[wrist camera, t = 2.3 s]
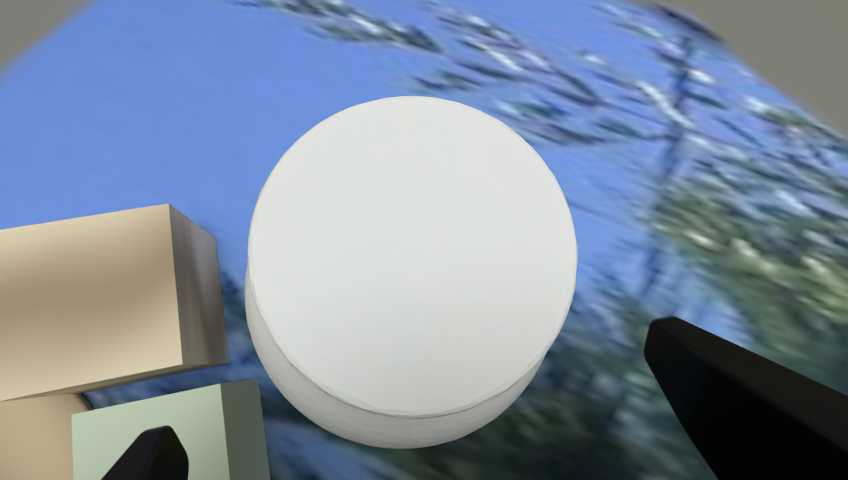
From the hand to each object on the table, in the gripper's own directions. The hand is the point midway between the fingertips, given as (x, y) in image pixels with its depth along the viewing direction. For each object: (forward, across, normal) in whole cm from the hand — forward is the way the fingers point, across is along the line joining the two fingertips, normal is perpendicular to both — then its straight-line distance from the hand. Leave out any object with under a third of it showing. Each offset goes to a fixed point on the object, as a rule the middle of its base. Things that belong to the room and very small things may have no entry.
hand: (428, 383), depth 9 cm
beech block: (+10, +9, +4) cm, 14 cm away
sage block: (+6, +7, +8) cm, 13 cm away
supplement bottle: (+9, 0, +6) cm, 11 cm away
